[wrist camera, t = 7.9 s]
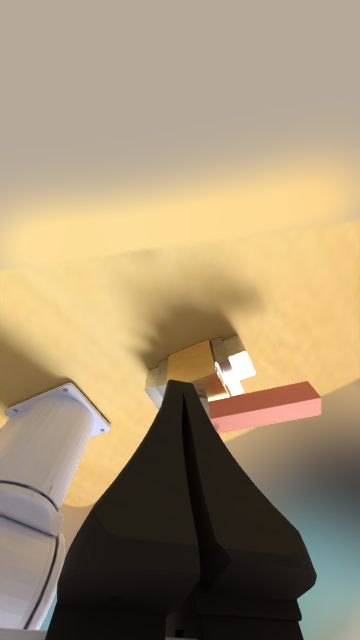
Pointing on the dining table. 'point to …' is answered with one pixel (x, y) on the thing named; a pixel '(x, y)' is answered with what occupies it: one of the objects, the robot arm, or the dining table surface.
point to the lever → (263, 407)
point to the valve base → (203, 370)
